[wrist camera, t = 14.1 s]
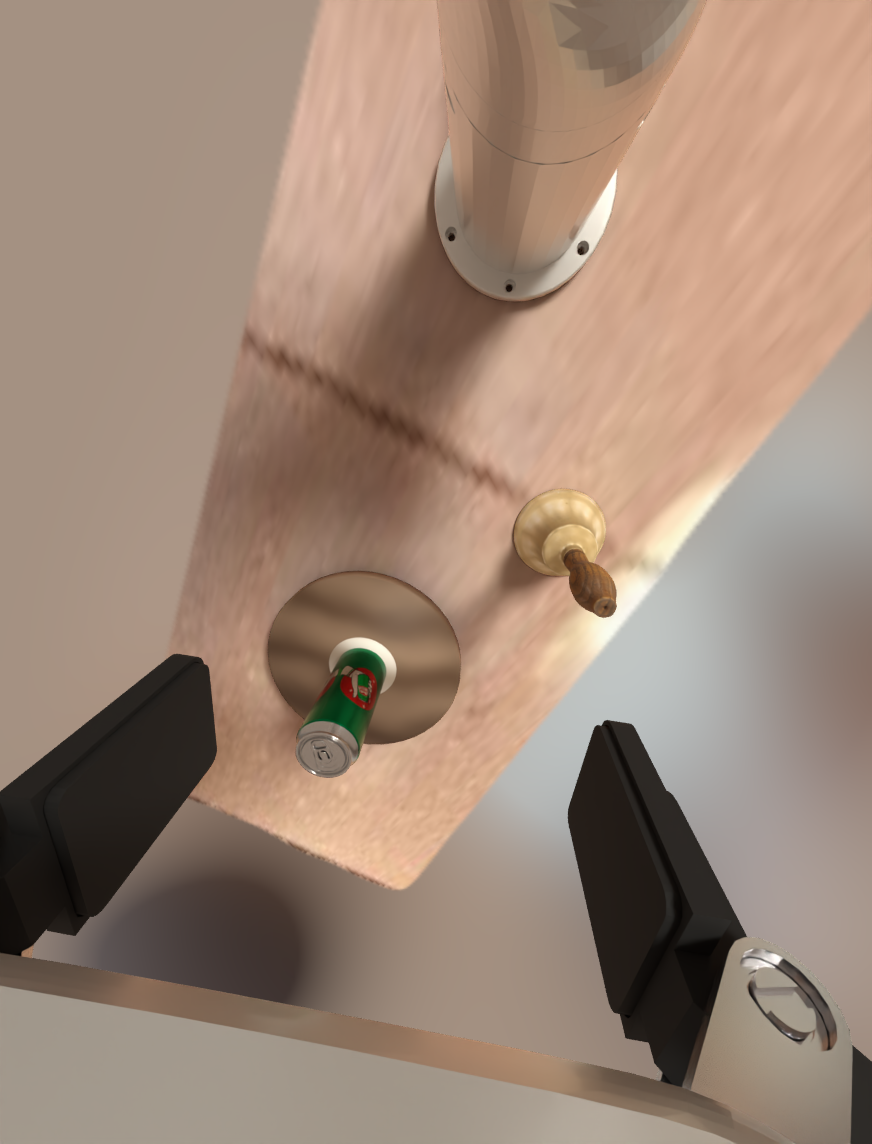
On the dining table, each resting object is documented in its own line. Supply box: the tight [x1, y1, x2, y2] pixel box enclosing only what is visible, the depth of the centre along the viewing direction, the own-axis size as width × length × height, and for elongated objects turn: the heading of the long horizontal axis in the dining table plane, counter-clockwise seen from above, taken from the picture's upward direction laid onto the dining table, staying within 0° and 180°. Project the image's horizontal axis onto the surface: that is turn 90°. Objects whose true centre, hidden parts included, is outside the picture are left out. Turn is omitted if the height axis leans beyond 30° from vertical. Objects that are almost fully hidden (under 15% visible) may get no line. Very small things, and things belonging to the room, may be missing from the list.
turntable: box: [268, 571, 461, 744], centre depth 43 cm, size 20×20×2 cm
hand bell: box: [514, 489, 617, 618], centre depth 31 cm, size 8×8×16 cm
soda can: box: [296, 648, 387, 778], centre depth 37 cm, size 5×5×12 cm
